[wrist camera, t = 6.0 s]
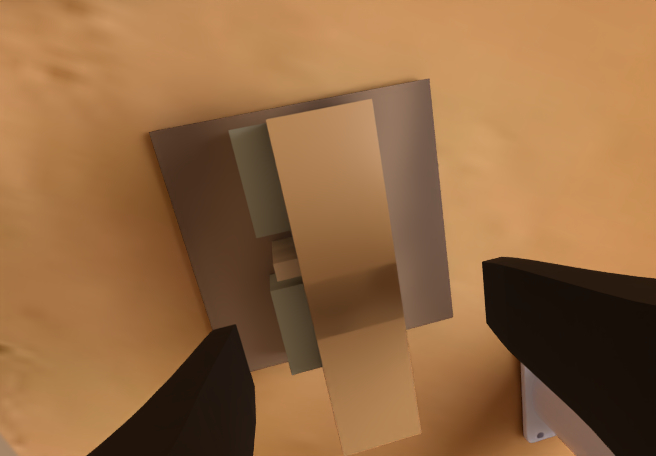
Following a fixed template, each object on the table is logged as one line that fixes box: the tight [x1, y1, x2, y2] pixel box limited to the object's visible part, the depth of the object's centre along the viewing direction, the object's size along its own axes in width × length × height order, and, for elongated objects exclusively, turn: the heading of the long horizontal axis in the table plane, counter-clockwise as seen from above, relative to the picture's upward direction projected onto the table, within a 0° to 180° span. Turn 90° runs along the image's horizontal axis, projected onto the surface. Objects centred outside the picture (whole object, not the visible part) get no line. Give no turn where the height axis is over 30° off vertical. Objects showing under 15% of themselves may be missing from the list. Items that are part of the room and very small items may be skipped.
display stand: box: [149, 79, 453, 375], centre depth 17 cm, size 13×13×4 cm
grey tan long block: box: [266, 99, 422, 456], centre depth 14 cm, size 3×12×5 cm, turn 11°
